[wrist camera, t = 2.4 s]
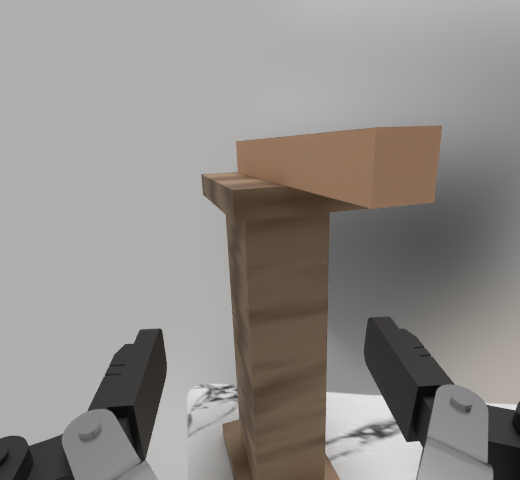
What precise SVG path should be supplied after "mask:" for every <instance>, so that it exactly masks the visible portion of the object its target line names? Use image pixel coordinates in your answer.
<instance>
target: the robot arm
mask: <svg viewBox="0 0 520 480" xmlns="http://www.w3.org/2000/svg"><path fill="white" fill-rule="evenodd" d="M364 356H365V362H366V365H367V367H368V369H369V371H370V372H371V375H372V377H373V378H374V380H375V382H376V384H377V386H378V388H379V390H380V392H381V394H382V396H383V398H384V400H385V401H386V403H387V405H388V407H389V409H390V411H391V413H392V415H393V417H394V419H395V421H396V423H397V424H398V426H399V428H400V430H401V432H402V434H403V436H404V438H405V440H406V442H412V441H420V443H421V445H422V447H423V449H422V454H421V458H420V463H419V468H418V473H417V478H416V480H520V402H519V403H518V405H517V408H516V411H515V410H510V409H504V408H499V407H494V406H489V405H486V404H485V402H484V401H483V400H482V399H481V398H480V397H479V396H478V395H477V394H475V393H474V392H472V391H470V390H469V389H466V388H464V387H461V386H458V385H455V384H454V383H453V382H452V381H451V380H450V378H449V377H448V376H447V374H446V373H445V372H444V371H443V369H442V368H441V367H440V366H439V364H438V363H437V362H436V361H435V359H434V358H433V357H431V354H430V353H429V352H428V351H427V350H426V349H425V348H424V346H423V345H422V343H421V342H420V341H419V340H418V338H417V337H416V336H414V335H413V334H411V333H410V332H408V331H407V330H405V329H399V328H398V327H397V325H396V324H395V323H394V321H393V320H392V319H391V318H390V317H371V318H369V319H368V322H367V329H366V338H365V346H364ZM166 371H167V362H166V354H165V347H164V340H163V334H162V330H161V329H143V330H140V331H139V333H138V335H137V338H136V340H135V342H134V344H125V345H124V346H123V347H122V348H121V349H120V350H119V351H118V352H117V353H116V354H115V355H114V357H113V359H112V361H111V363H110V367H109V368H108V369H107V372H106V374H105V377H104V378H103V380H102V382H101V384H100V386H99V388H98V391H97V392H96V394H95V397H94V399H93V401H92V403H91V405H90V407H89V409H88V411H87V412H86V413H83V414H82V415H80V416H78V417H77V418H76V419H74V420H73V421H72V422H71V423H70V424H69V425H68V426H67V428H66V429H65V431H64V433H63V434H62V435H60V436H57V437H54V438H52V439H49V440H46V441H43V442H40V443H37V444H34V445H31V446H28V443H27V441H26V440H25V439H24V438H23V437H20V436H8V437H4V438H1V439H0V480H157V478H156V476H155V474H154V473H153V471H152V469H151V467H150V466H149V464H148V463H147V461H146V460H145V459H146V455H147V451H148V447H149V442H150V439H151V435H152V431H153V427H154V423H155V418H156V415H157V411H158V407H159V403H160V399H161V395H162V391H163V387H164V383H165V378H166Z"/></svg>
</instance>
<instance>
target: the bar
mask: <svg viewBox="0 0 520 480" xmlns="http://www.w3.org/2000/svg"><path fill="white" fill-rule="evenodd" d="M441 130H442V126H413V127H376V128H366V129H356V130H345V131H335V132H326V133H317V134H306V135H297V136H286V137H276V138H266V139H256V140H246V141H238V142H236V145H237V163H238V173H240V174H244V175H248V176H251V177H255V178H259V179H262V180H266V181H270V182H274V183H277V184H281V185H285V186H288V187H292V188H296V189H300V190H303V191H307V192H311V193H314V194H318V195H322V196H326V197H329V198H333V199H337V200H340V201H344V202H348V203H352V204H355V205H359V206H363V207H367V208H370V209H374V208H384V207H394V206H403V205H413V204H422V203H432V202H434V198H435V188H436V178H437V169H438V159H439V150H440V140H441Z"/></svg>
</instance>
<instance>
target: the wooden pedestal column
mask: <svg viewBox="0 0 520 480" xmlns="http://www.w3.org/2000/svg"><path fill="white" fill-rule="evenodd" d="M202 186H203V195H204V196H205V197H207V198H208V199H209V200H210V201H211V202H213V204H215V205H216V206H217V207H218V208H219V209H220V210H221V211H223V212H224V213H225V214H226V224H227V239H228V253H229V269H230V284H231V299H232V314H233V328H234V343H235V359H236V374H237V389H238V404H239V419H240V420H236V421H232V422H229V423H225V424H223V435H224V439H225V443H226V447H227V451H228V455H229V459H230V463H231V467H232V471H233V475H234V479H235V480H340V479H339V477H338V475H337V473H336V472H335V470H334V468H333V466H332V465H331V463H330V461H329V459H328V458H327V456H326V454H325V423H326V369H327V368H326V367H327V366H326V365H327V314H328V312H327V311H328V261H329V257H328V256H329V212H338V211H347V210H357V209H367V207H363V206H359V205H355V204H352V203H348V202H344V201H340V200H337V199H333V198H329V197H326V196H322V195H318V194H314V193H311V192H307V191H303V190H300V189H296V188H292V187H288V186H285V185H281V184H277V183H274V182H270V181H266V180H262V179H259V178H255V177H251V176H248V175H244V174H240V173H238V172H233V173H217V174H202Z"/></svg>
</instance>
